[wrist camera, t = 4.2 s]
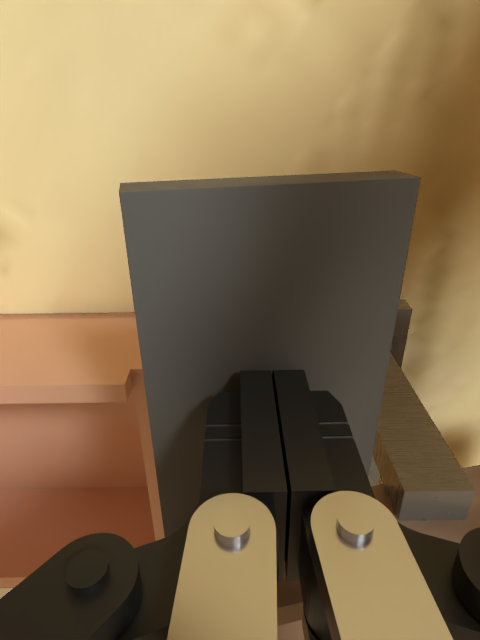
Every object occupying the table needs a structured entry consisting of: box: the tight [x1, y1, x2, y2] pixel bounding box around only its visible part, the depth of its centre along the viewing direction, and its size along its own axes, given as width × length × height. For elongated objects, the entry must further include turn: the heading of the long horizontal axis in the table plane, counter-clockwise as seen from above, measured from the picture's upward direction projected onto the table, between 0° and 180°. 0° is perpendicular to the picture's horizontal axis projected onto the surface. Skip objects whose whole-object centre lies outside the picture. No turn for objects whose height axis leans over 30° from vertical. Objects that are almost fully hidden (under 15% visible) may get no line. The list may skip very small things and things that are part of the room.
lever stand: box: [368, 300, 476, 521], centre depth 19 cm, size 5×13×10 cm, turn 0°
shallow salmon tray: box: [0, 313, 165, 588], centre depth 20 cm, size 12×13×8 cm
